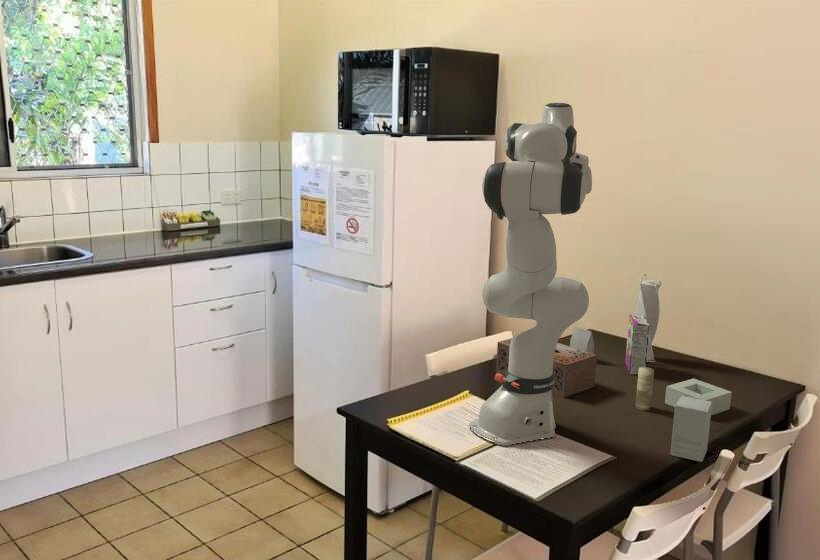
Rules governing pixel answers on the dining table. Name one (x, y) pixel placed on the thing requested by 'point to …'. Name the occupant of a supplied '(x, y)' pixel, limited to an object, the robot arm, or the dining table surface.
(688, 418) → the supplement box
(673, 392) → the socket block
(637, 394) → the peg
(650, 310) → the skyscraper
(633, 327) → the candy bar box
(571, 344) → the grey bevelled box
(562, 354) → the tissue box cover
